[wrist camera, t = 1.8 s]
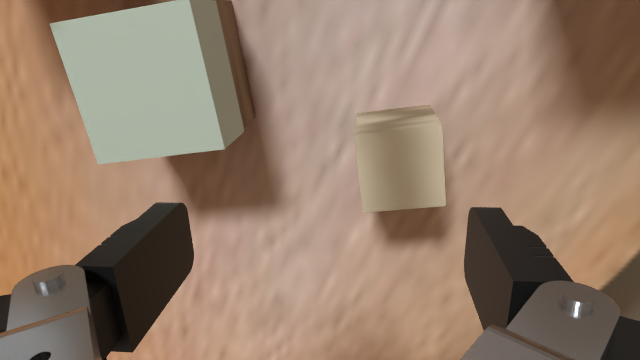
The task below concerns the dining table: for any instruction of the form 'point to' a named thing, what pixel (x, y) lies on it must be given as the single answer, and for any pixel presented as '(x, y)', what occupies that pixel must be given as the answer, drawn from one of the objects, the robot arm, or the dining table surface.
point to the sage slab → (151, 80)
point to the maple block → (400, 159)
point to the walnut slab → (236, 60)
